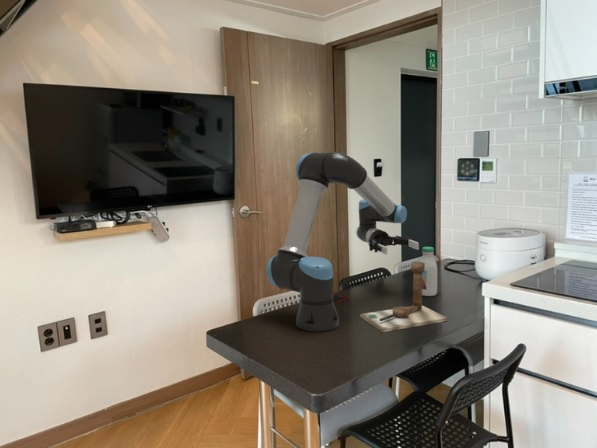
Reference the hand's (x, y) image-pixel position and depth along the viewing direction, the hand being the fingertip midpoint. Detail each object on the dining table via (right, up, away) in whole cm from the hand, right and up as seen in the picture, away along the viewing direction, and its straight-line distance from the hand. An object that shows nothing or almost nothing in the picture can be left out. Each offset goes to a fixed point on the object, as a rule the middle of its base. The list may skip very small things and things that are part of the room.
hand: (402, 248), depth 178 cm
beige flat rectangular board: (-3, -25, -12) cm, 28 cm away
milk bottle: (+15, -20, +17) cm, 30 cm away
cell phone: (-27, -23, +11) cm, 37 cm away
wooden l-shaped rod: (-3, -23, -12) cm, 26 cm away
